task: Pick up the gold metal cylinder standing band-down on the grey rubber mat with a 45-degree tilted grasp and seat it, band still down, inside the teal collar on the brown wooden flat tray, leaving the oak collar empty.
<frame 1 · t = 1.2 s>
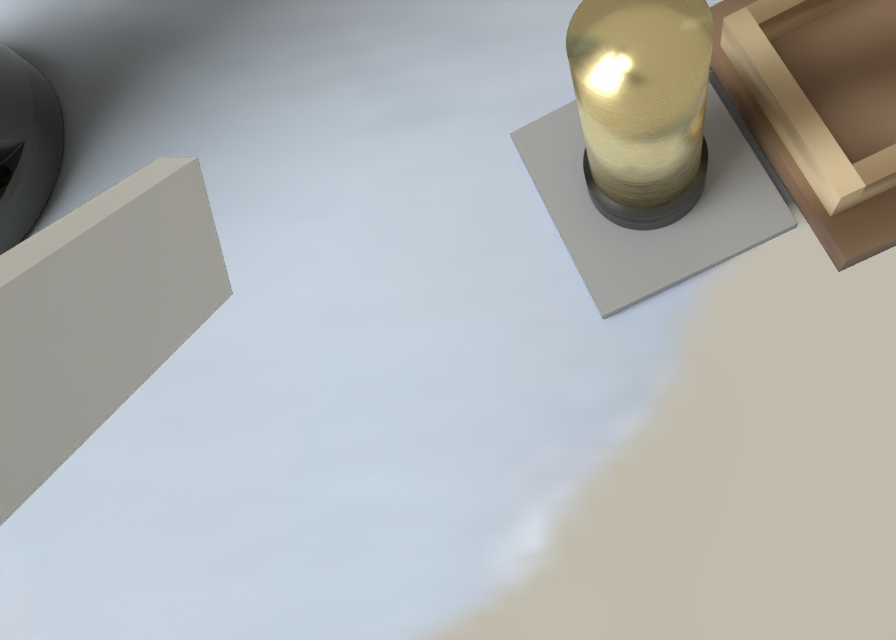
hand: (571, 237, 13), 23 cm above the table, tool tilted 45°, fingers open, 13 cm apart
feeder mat: (645, 180, 37), on the table
gold metal cylinder: (645, 175, 36), resting on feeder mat
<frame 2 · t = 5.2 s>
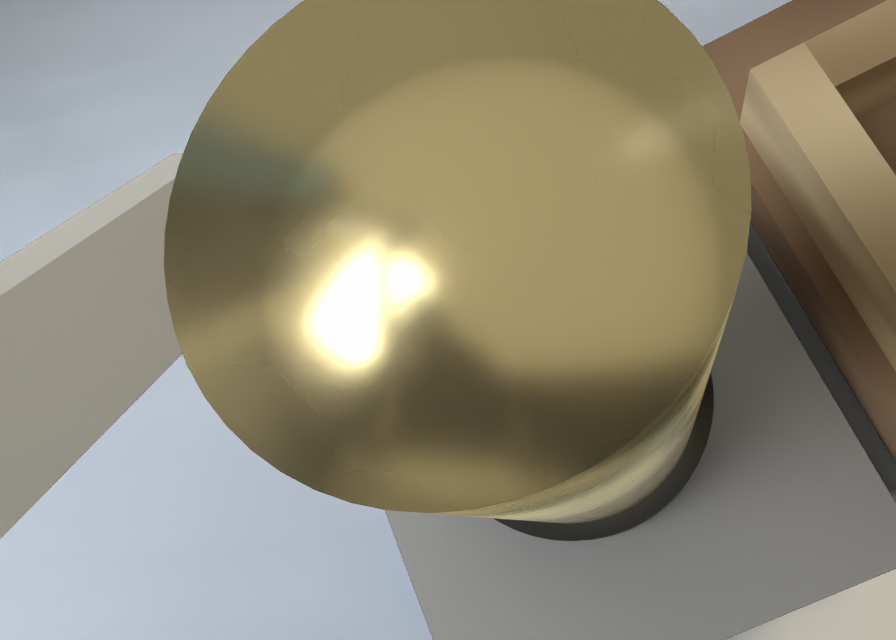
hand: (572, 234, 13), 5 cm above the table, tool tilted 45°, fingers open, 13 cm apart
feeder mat: (576, 411, 17), on the table
gold metal cylinder: (574, 408, 16), resting on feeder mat
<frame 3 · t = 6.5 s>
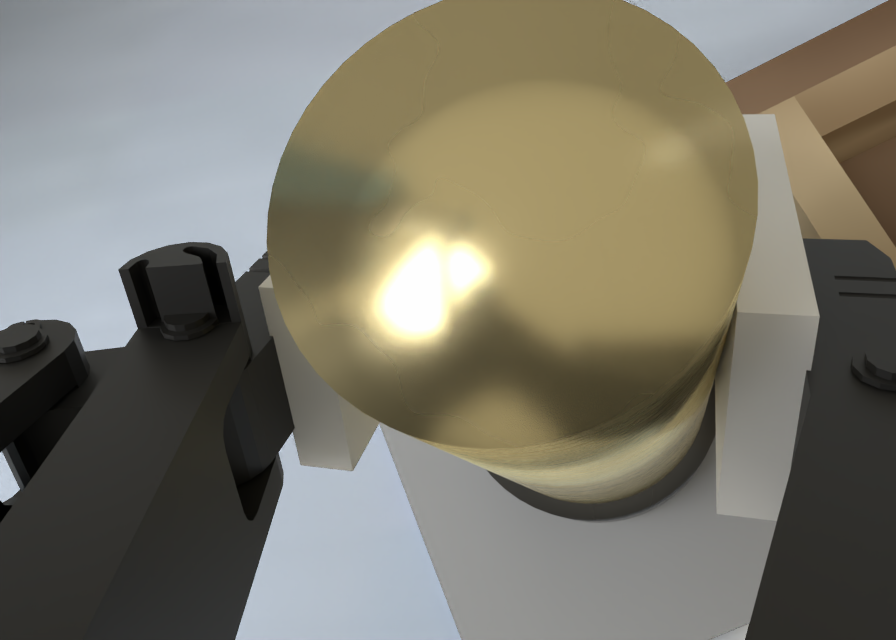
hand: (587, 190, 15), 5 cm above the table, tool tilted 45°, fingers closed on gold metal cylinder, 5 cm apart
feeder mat: (589, 425, 19), on the table
gold metal cylinder: (593, 400, 18), point 1 cm above the table, touching gripper
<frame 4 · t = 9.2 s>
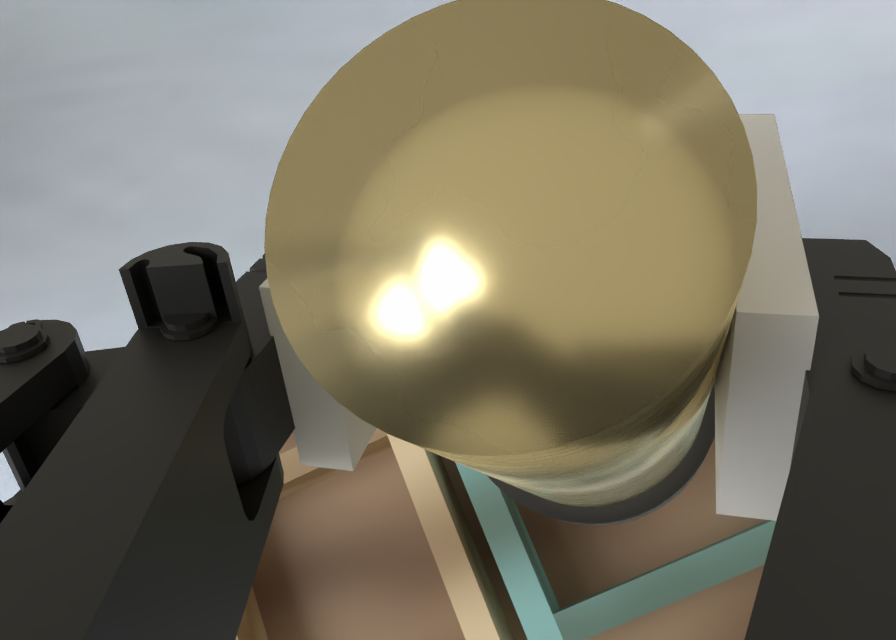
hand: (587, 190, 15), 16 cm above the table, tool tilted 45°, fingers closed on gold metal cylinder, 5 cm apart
brown wooden flat tray: (487, 521, 29), on the table
gold metal cylinder: (591, 403, 18), point 12 cm above the table, touching gripper
when the fingers open (6 cm above the table, at t = 11.6 s): gold metal cylinder stays where it is, resting on brown wooden flat tray.
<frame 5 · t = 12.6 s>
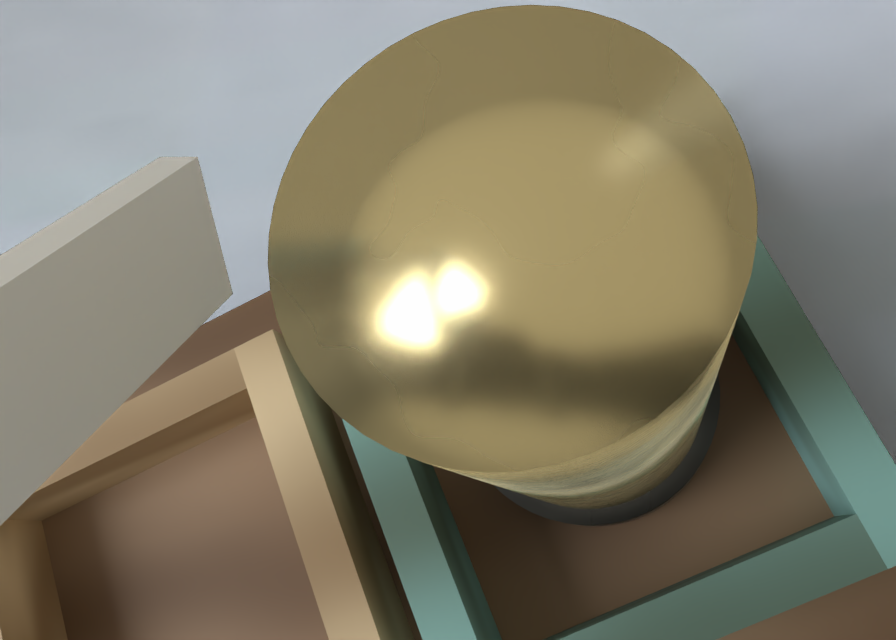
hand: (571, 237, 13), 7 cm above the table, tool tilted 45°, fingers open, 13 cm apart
brown wooden flat tray: (408, 519, 20), on the table
gold metal cylinder: (590, 404, 18), point 2 cm above the table, touching brown wooden flat tray
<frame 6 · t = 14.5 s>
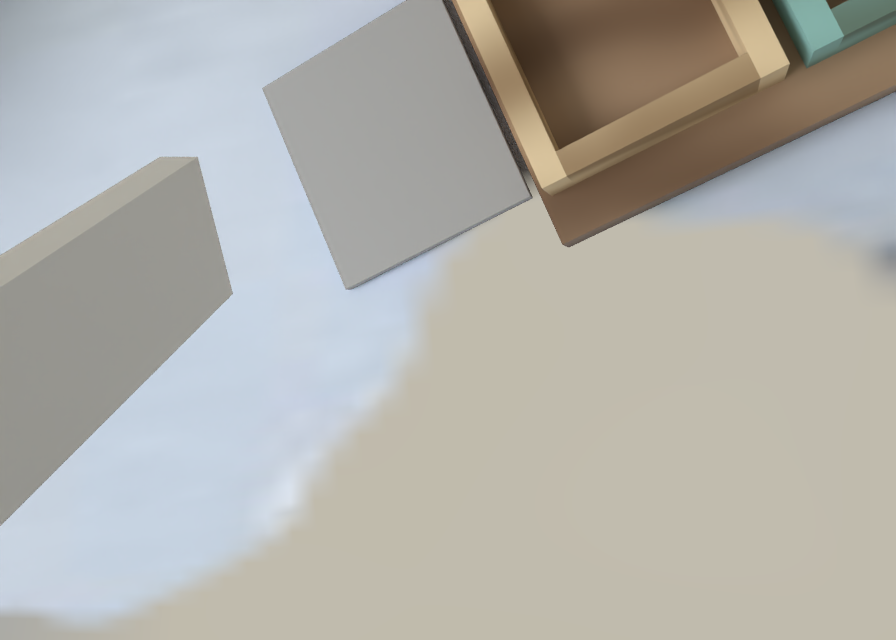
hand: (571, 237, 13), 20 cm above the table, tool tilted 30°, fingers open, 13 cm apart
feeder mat: (393, 141, 35), on the table
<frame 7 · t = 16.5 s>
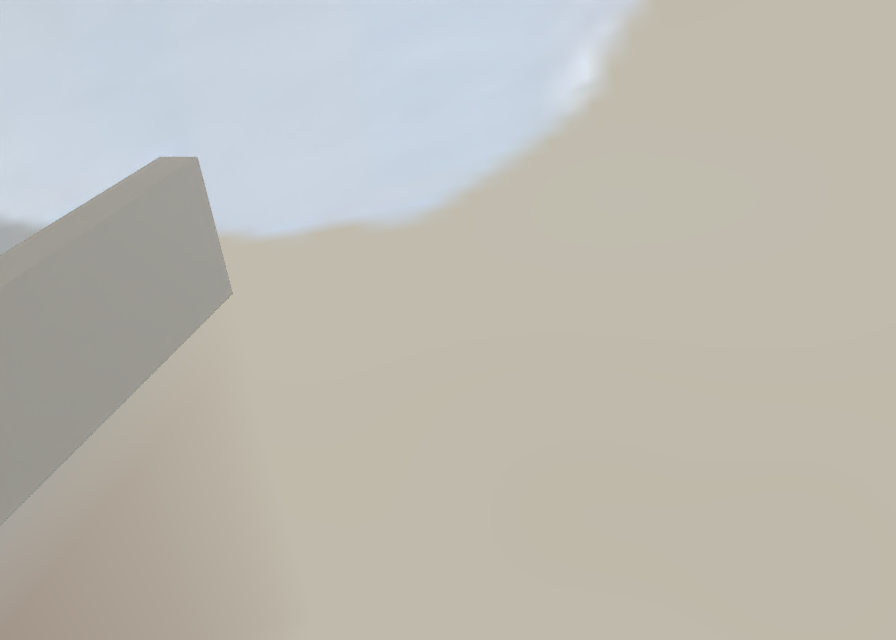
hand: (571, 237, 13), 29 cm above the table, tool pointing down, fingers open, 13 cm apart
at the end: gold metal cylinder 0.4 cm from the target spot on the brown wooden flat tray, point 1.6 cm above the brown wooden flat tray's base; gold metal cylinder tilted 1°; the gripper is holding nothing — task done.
